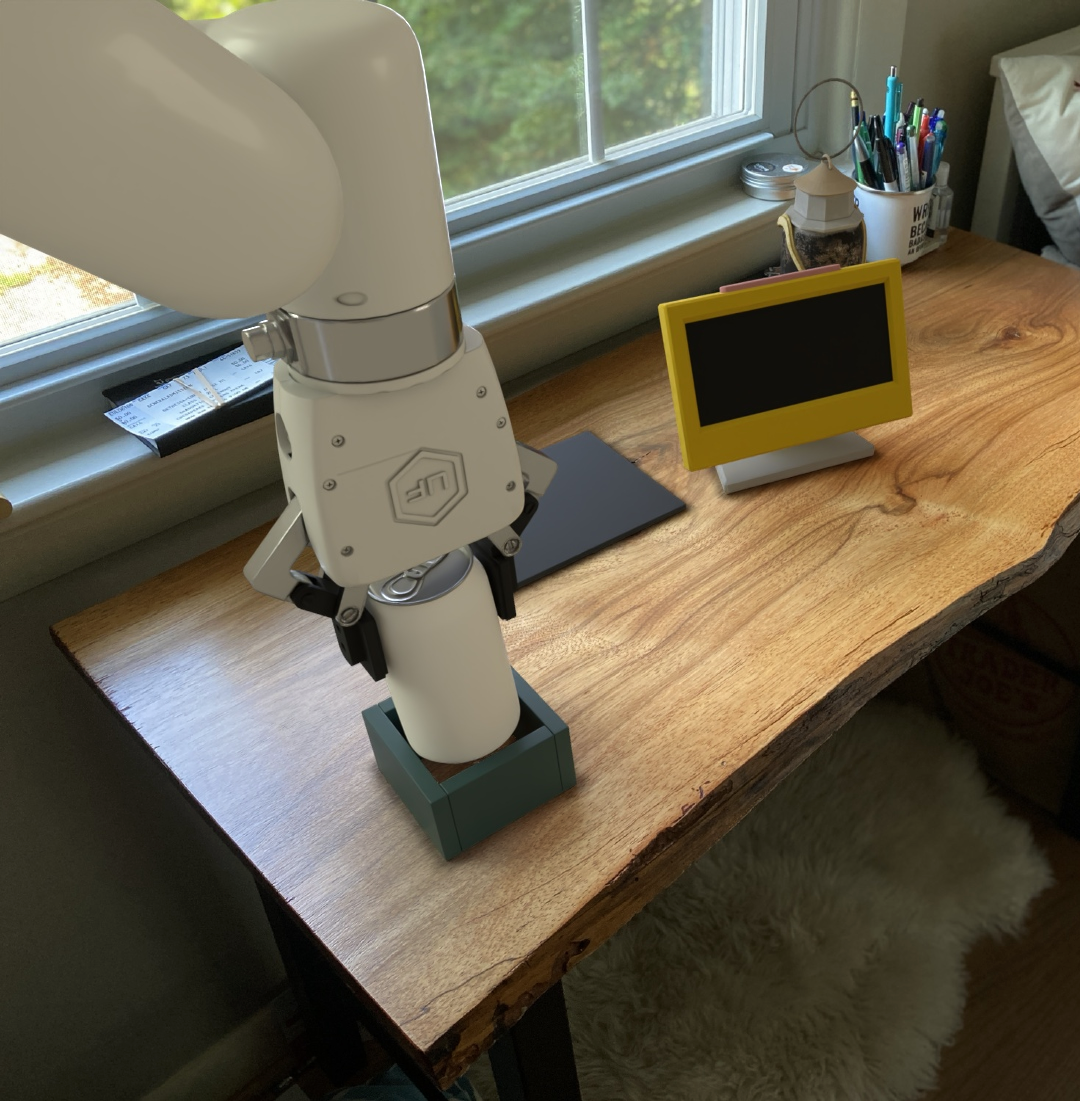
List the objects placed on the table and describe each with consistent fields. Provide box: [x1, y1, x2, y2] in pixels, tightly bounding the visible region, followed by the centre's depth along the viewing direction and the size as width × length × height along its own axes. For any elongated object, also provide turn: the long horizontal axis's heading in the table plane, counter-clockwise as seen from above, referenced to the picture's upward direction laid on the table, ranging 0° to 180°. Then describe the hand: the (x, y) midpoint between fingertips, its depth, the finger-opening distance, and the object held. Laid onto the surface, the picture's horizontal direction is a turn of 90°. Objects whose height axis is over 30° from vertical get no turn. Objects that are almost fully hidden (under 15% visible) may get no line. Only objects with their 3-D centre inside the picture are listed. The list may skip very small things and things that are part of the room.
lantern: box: [776, 77, 868, 275], centre depth 100 cm, size 9×8×25 cm
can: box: [364, 544, 520, 765], centre depth 59 cm, size 6×6×12 cm
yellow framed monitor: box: [657, 257, 914, 495], centre depth 88 cm, size 20×8×16 cm, turn 114°
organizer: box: [361, 664, 578, 862], centre depth 64 cm, size 9×9×5 cm
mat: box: [514, 430, 687, 589], centre depth 86 cm, size 20×14×1 cm
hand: (435, 632), depth 58 cm, fingers closed on can, 6 cm apart
